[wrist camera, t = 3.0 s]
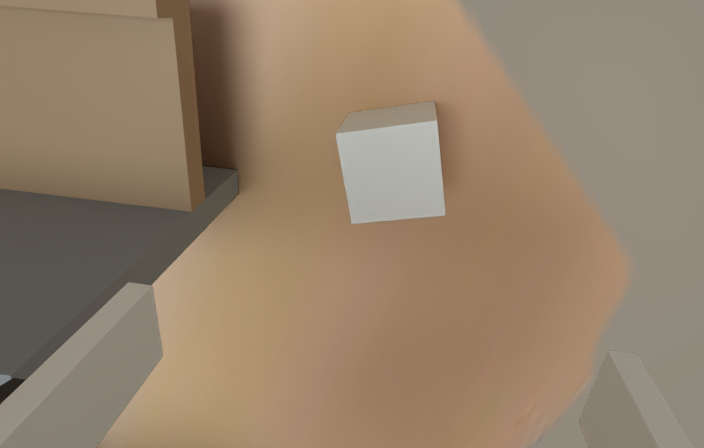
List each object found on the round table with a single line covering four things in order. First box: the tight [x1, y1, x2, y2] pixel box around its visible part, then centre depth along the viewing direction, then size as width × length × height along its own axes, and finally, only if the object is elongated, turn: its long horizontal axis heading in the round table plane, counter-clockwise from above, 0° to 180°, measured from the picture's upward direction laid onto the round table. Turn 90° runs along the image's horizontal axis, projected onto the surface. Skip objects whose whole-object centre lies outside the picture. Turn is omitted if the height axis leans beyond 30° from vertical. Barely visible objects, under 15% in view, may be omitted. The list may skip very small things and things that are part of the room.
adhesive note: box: [336, 101, 445, 224], centre depth 31 cm, size 6×6×6 cm
